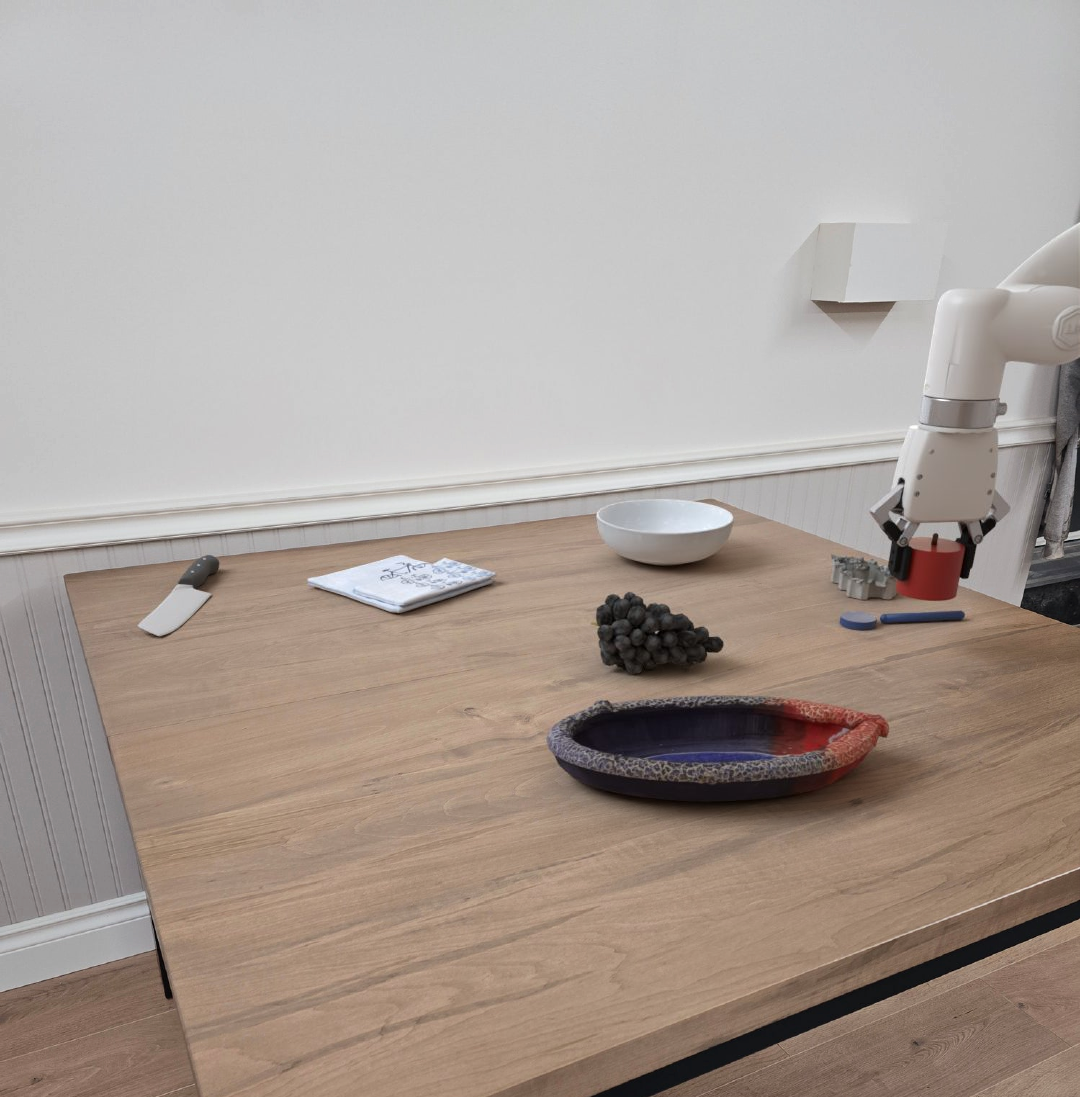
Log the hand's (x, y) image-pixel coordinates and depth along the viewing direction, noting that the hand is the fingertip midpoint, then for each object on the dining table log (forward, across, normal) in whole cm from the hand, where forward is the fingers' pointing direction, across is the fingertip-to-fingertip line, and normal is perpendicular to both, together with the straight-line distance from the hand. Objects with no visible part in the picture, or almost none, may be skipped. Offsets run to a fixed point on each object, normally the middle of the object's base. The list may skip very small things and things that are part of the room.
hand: (928, 575), depth 111 cm
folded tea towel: (+9, +61, -33) cm, 70 cm away
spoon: (+9, -2, -9) cm, 13 cm away
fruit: (+9, +32, +2) cm, 33 cm away
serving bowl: (+9, +21, -42) cm, 48 cm away
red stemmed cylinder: (+2, 0, 0) cm, 2 cm away
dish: (+9, +32, +27) cm, 43 cm away
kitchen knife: (+10, +90, -30) cm, 95 cm away
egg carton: (+9, -3, -23) cm, 25 cm away
